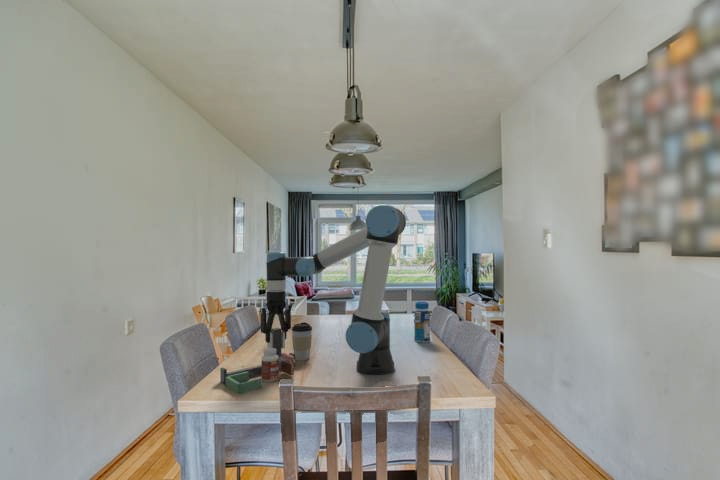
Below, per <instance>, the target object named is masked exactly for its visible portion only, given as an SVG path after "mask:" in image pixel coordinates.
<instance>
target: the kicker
mask: <svg viewBox="0 0 720 480" xmlns="http://www.w3.org/2000/svg"><path fill="white" fill-rule="evenodd" d="M281 331H282V330H281V327H272V329H271V333H270V334H272V348H276V350H277V352H276V355H278V358H279V362H281V372H282V373H284V374H285V375H289V376H290V377H291V376H292V377H293V376H295V367H294V363H295V364H296V359H295V360H294V356H291V355H289V353H286V352H283V351H282V348H281Z"/></svg>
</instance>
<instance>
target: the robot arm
mask: <svg viewBox="0 0 720 480" xmlns="http://www.w3.org/2000/svg"><path fill="white" fill-rule="evenodd" d="M406 220H407V219H406V216H405V213H403V212H402V211H401V210H400V209H399V208H396V207H395V206H393V205H389V204H377V205H375V206H373V207H372V208H370V209H369V211H368V212H367V215H366V216H365V227H363V228H362V229H359V230H357V231H356V232H354V233H352V234H350V235H348V236H346V237H344V238H342V239H340V240H338V241H337V242H335V243H333V244H331V245H329V246H327V247H326V248H324V249H322V250H319V251H318V252H316V253H314V254H312V255H310V256H296V257H295V256H291V257H289V256H287V255H286V252H283V251H281V252H279V251H278V252H277V251H275V252H274V251H273V252H271V251H270V252H268V253H267V254H266V262H265V264H266V291H267V292H266V299H265V300H266V304H265V306H263V307H260V308H259V312H260V333H261V334H265V342H266V345H267V347H266V348H272V334H271V329H272V328H273V323H274V319H275V317H276V315H277V317H278V321H279V326H280V329H281V349H285V348H286V340H287V333H288V332H289V330H292V317H291V316H292V312H291V311H292V309H293V305H292V304H287V303H286V295H287V292H286V291H285V290H286V289H287V287H286V286H287V285H286V284H287V283H286V282H287V280H286V279H287V278H286V277H301V278H305V277H312V276H313V275H318V274H320V273H322V272H323V271H324V270H325V269H327V268H329V267H331V266H333V265H335V264H337V263H339V262H342V261H343V260H345V259H347V258H348V257H351V256H353V255H354V254H357V253H358V252H361V251H363V250H364V249H366V248H368V250H367V255H366V262H365V267H364V273H363V277H362V278H363V279H362V283H361V289H360V295H359V300H358V307H357V308H356V309H354V310H353V311H352V316H351V317H352V318H351V323H350V324H349V325H348V327H347V329H346V331H345V341H346V343H347V345H348V347H349V348H350V349H351V350H352V351H353V352H355V353H359V355H358V358H357V359H358V360H357V361H356V370H357V371H358V372H360V373H363V374H367V375H368V374H369V375H383V374H384V375H385V374H389V373H391V372H393V371H394V370H395V362H394V360H393V355H392V352H391V343H390V342H391V330H390V329H391V328H390V327H391V317H390V313H389V312H388V311H385V310H384V311H382V308H383V303H384V296H385V291H386V285H387V280H388V274H389V270H390V269H389V268H390V263H391V262H390V261H391V259H392V251H393V248H394V247H396V246H397V245H398V241H399V236H400V235H401V234H403V232H404V231H405V229H406V225H407V224H406V223H407V222H406Z"/></svg>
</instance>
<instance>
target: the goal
mask: <svg viewBox="0 0 720 480" xmlns="http://www.w3.org/2000/svg"><path fill="white" fill-rule="evenodd" d="M249 378H250V377H249V372H243V373H239V374H235V375H230V376H226V377H225V384H224V386H226V388H229V389H230V390H232V391H234V392H235V393H236V394H238V395H239V394H242V393H247V392H250V391H253V390H258V389H261V388H263V381H262V379H261V378H255V379H253V380H252V379H251V380H249Z"/></svg>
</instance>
